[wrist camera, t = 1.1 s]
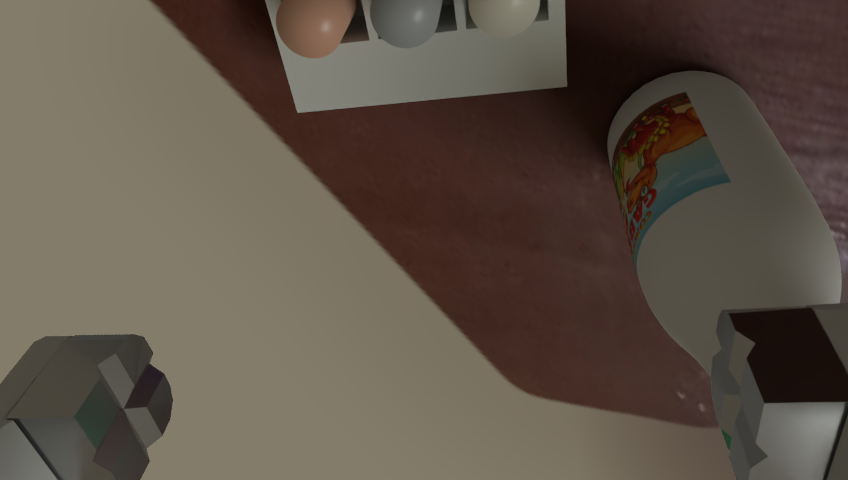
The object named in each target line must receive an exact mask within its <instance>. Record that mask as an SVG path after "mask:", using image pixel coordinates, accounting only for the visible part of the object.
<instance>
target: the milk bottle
mask: <svg viewBox="0 0 848 480" xmlns="http://www.w3.org/2000/svg"><path fill="white" fill-rule="evenodd" d="M607 149H608V156H609V162H610V167H611V171H612V175H613V180H614V184H615V188H616V193H617V197H618V201H619V205H620V210H621V214H622V218H623V222H624V226H625V230H626V234H627V238H628V242H629V246H630V250H631V254H632V258H633V262H634V265H635V269H636V272H637V275H638V278H639V282H640V285H641V288H642V291H643V293H644V295H645V298H646V300H647V302H648V304H649V306H650V308H651V310H652V312H653V313H654V315H655V317H656V318H657V320H658V321H659V323H660V324H661V325H662V327H663V328H664V329H665V330H666V332H667V333H668V334H669V335H670V336H671V337H672V338H673V339H674V340H675V341H676V342H677V343H678V344H679V345H680V346H681V347H682V348H683V349H685V350H686V351H687V352H688V353H689V354H690V355H691V356H692V357H694V358H695V359H696V360H697V361H698V362H699V363H700V365H701V366H702V367H703V368H704V369H705V371H706V372H707V373H708V375H709V376H710V377H711V369H712V359H713V356H714V355H716V354H717V353H718V352H719V351H720V350H721V349H722V348H721V345H720V343H719V340H718V337H717V334H716V329H717V323H718V317H719V315H720V313H721V311H722V310H729V309H749V308H769V307H790V306H804V307H805V306H806V305H818V304H836V303H840V296H841V266H840V260H839V256H838V251H837V247H836V244H835V242H834V239H833V236H832V234H831V231H830V228H829V226H828V224H827V222H826V221H825V219H824V217H823V215H822V213H821V211H820V209H819V208H818V206H817V204H816V202H815V200H814V198H813V197H812V195H811V193H810V192H809V190H808V188H807V187H806V185H805V184H804V182H803V180H802V179H801V177H800V175H799V174H798V172H797V171H796V169H795V167H794V166H793V164H792V162H791V161H790V159H789V158H788V156H787V154H786V153H785V151H784V150H783V148H782V147H781V145H780V143H779V142H778V140H777V139H776V137H775V136H774V134H773V132H772V131H771V129H770V128H769V126H768V125H767V123H766V121H765V120H764V118H763V117H762V115H761V114H760V112H759V111H758V109H757V107H756V106H755V105H754V103H753V102H752V100H751V99H750V98H749V96H748V95H747V94H746V92H745V91H744V90H743V89H742V88H741V87H740V86H739V85H737V84H736V83H735V82H733V81H732V80H730V79H728V78H726V77H724V76H721V75H718V74H715V73H710V72H704V71H683V72H676V73H671V74H668V75H665V76H662V77H659V78H656V79H655V80H653V81H651V82H649V83H647V84H645V85H644V86H642V87H641V88H640V89H638V90H637V91H636V92H634V93H633V94H632V95H631V96H630V97H629V98H628V99H627V100H626V101H625V102H624V103H623V105H622V106H621V108H620V109H619V110H618V112H617V114H616V115H615V117H614V119H613V121H612V123H611V126H610V129H609V134H608V141H607ZM721 430H722V429H721ZM722 433H723V436H724V439H725V441H726V444H727V447H728V448H729V450H730V447H731V441H732V437H731V436H730V435H728V434H727V433H726V432H725V431H724V430H722Z"/></svg>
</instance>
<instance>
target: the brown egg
mask: <svg viewBox="0 0 848 480" xmlns="http://www.w3.org/2000/svg"><path fill="white" fill-rule="evenodd" d="M359 3H360V0H283V1H282V3H281V4H280V6H279V8H278V10H277V14H276V27H277V31H278V34H279V36H280V38H281V40H282V41H283V43H284V44H285V45H286V46H287V47H288V48H289V49H290V50H291V51H293V52H294V53H296V54H298V55H300V56H303V57H306V58H322V57H325V56H327V55H329V54H331V53H332V52H333V51H334V50H335V49H336V48H337V47H338V45H339V44H340V42H341V40H342V38H343V36H344V34H345V32H346V30H347V28H348V26H349V24H350V22H351V20H352V18H353V16H354V14H355V12H356V10H357V8H358V5H359Z"/></svg>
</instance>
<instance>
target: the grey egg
mask: <svg viewBox="0 0 848 480" xmlns="http://www.w3.org/2000/svg"><path fill="white" fill-rule="evenodd" d="M442 2H443V0H372V2H371V5H370V19H371V23H372V25H373V28H374V29H375V31H376V33H377V34H378V35H379V36H380V37H381V38H382V39H383V40H384V41H385V42H387V43H388V44H390V45H392V46H395V47H399V48H413V47H417V46H419V45H422V44H423V43H425V42H426V41H427V40H429V39H430V38H431V36H432V35H433V34H434V32H435V30H436V28H437V25H438V21H439V16H440V12H441V7H442Z"/></svg>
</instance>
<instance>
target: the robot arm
mask: <svg viewBox="0 0 848 480" xmlns="http://www.w3.org/2000/svg"><path fill="white" fill-rule="evenodd" d="M716 334H717V337H718V340H719V343H720V345H721V348H722V349H721V350H720V351H719V352H718V353H717V354H716V355H714V356H713V359H712V369H711V388H712V398H713V403H714V408H715V413H716V416H717V419H718V423H719V426H720V428H721V429H722V430H724V431H725V432H726V433H727V434H728V435H730V436H731V437H732V441H731V447H730V453H729V458H730V461H731V464H732V467H733V470H734V473H735V476H736V480H848V303H836V304H818V305H806V306H805V307H804V306H790V307H769V308H749V309H729V310H722V311H721V313H720V315H719V317H718V323H717V329H716ZM152 355H153V352H152V350H151V348H150V347H149V345H148V343H147V341H146V340H145V338H144V337H142V336H138V335H134V334H129V335H75V336H46V337H44V338H42V339H39V340H37V341H35V342H34V343H33V344H32V345H31V346H30V348H29V349H28V350H27V351H26V353H25V354H24V355H23V356H22V358H21V359H20V360H19V361H18V363H17V364H16V365H15V366H14V368H13V369H12V370H11V371H10V372H9V374H8V375H7V376H6V377H5V379H4V380H3V381H2V383H1V384H0V480H140V479H141V477H142V475H143V473H144V471H145V469H146V467H147V465H148V464H149V456H148V453H147V449H146V448H148V447H149V446H150V445H151V444H153V443H154V442H155V441H156V440H158V439H159V438H160V437H161V436H162V435H163V433H164V431H165V429H166V427H167V425H168V423H169V421H170V417H171V409H172V402H173V399H172V394H171V388H170V385H169V382H168V380H167V378H166V376H165V375H164V373H162V372H161V371H159V370H158V369H156V368H155V367H153V366H152V365H151V364H149V363H150V361H151V358H152Z"/></svg>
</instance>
